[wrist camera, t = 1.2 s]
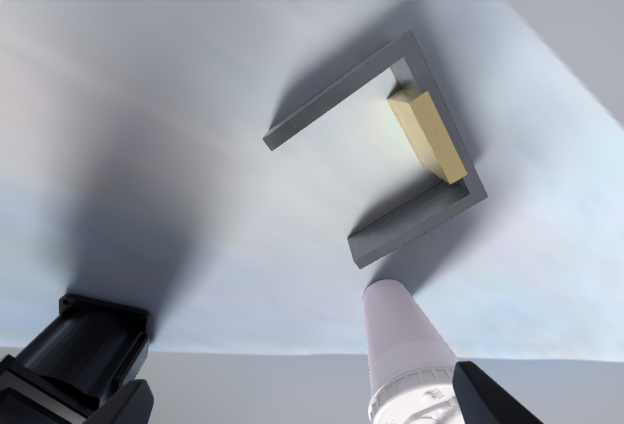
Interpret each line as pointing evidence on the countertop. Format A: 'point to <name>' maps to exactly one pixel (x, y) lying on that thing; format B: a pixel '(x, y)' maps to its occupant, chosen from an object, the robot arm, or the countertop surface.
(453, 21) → the countertop surface
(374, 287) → the smoothie
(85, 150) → the countertop surface
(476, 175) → the bracket
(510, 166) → the countertop surface
